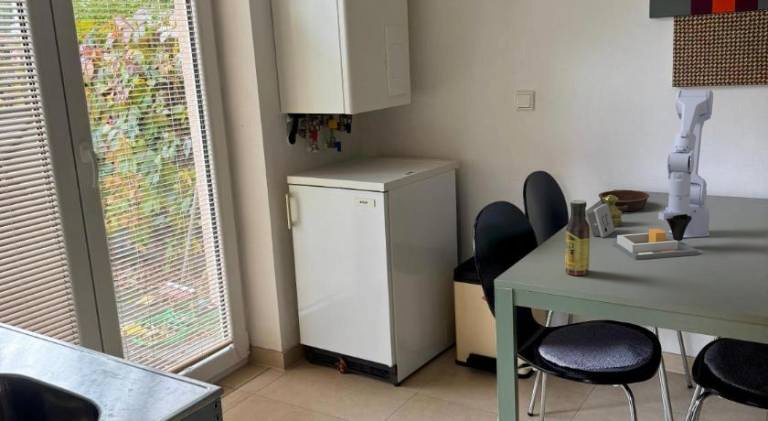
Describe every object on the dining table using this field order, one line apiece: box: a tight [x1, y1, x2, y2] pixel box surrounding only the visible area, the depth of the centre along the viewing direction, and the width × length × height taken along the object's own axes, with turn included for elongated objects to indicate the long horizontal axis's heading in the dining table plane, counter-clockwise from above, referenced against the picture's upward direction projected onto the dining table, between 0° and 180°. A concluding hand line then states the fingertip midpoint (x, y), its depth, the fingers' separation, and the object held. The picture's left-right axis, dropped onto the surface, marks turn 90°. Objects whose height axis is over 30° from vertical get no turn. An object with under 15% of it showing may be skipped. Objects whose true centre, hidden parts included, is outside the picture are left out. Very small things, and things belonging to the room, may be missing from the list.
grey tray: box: [612, 232, 699, 261], centre depth 208 cm, size 18×16×4 cm
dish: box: [598, 189, 650, 213], centre depth 259 cm, size 18×22×5 cm
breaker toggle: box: [648, 228, 667, 243], centre depth 207 cm, size 3×4×4 cm, turn 5°
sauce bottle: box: [564, 199, 591, 276], centre depth 189 cm, size 6×6×20 cm
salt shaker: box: [603, 195, 623, 228], centre depth 236 cm, size 7×7×10 cm
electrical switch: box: [586, 204, 615, 239], centre depth 226 cm, size 9×5×9 cm, turn 141°
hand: (677, 240), depth 208 cm, fingers closed
